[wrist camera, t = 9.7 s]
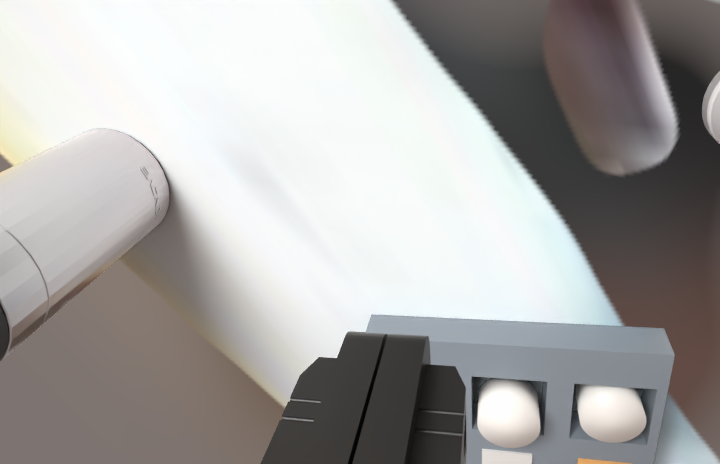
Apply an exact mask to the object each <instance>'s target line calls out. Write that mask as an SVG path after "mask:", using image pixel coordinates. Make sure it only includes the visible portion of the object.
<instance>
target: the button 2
mask: <svg viewBox="0 0 720 464" xmlns="http://www.w3.org/2000/svg"><path fill="white" fill-rule="evenodd" d="M575 396H576V402H577V408H578V414H579V420H580V425H581V427H582V429H583V430H584V431H585V432H586V433H587V434H588V435H589V436H591V437H592V438H594V439H596V440H599V441H603V442H608V443H619V442H625V441H628V440H631V439H633V438H635V437H637V436H638V435H639V434H640V433H641V432H642V431H643V430H644V428H645V426H646V415H645V412H644V408H643V405H642V402H641V399H640V395H639V392H638V389H637V388H629V387H614V386H600V385H586V384H576V387H575Z"/></svg>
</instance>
